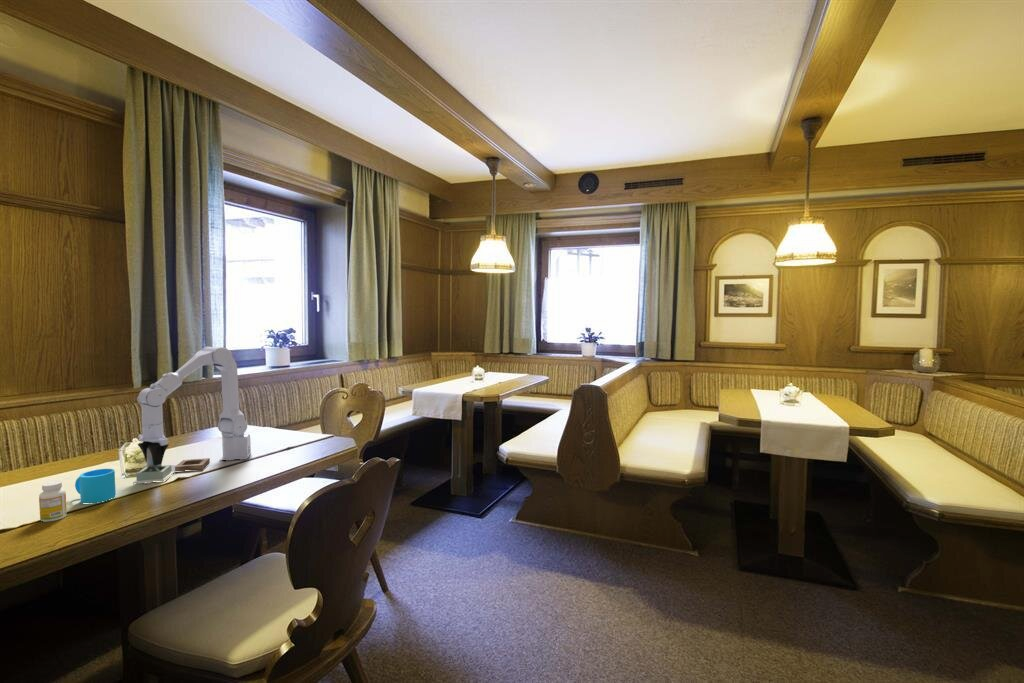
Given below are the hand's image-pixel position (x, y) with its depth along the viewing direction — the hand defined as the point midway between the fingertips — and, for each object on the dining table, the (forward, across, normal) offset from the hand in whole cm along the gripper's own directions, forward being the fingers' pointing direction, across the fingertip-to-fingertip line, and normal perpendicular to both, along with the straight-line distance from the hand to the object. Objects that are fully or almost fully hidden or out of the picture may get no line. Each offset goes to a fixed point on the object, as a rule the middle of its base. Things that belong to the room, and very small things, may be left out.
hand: (154, 463), depth 169 cm
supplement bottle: (+5, +12, -31) cm, 33 cm away
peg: (+3, 0, 0) cm, 3 cm away
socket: (+5, -1, +13) cm, 14 cm away
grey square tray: (+5, 0, 0) cm, 5 cm away
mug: (+6, +4, -19) cm, 20 cm away
